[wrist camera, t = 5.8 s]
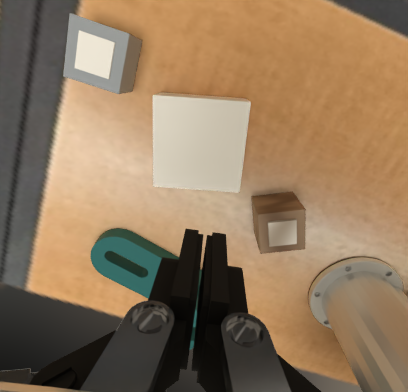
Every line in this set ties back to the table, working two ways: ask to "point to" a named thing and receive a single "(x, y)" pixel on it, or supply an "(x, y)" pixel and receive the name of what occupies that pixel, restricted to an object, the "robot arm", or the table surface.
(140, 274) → the bracket
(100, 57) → the slate block
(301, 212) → the walnut block
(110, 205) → the table surface
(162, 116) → the plain block
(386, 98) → the table surface
